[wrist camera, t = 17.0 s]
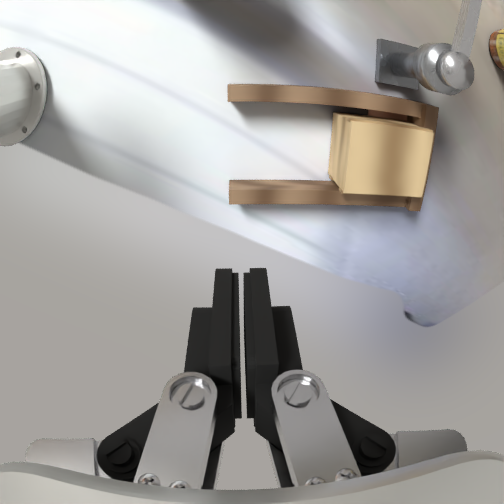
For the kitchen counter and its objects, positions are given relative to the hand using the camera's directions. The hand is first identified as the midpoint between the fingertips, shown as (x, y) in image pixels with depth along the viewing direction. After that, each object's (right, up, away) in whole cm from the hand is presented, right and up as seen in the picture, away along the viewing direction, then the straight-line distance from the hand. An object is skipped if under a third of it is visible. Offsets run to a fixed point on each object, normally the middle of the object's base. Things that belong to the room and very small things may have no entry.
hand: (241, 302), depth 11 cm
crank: (+18, +20, +6) cm, 27 cm away
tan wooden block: (+13, +14, +22) cm, 29 cm away
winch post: (+16, +22, +17) cm, 32 cm away
